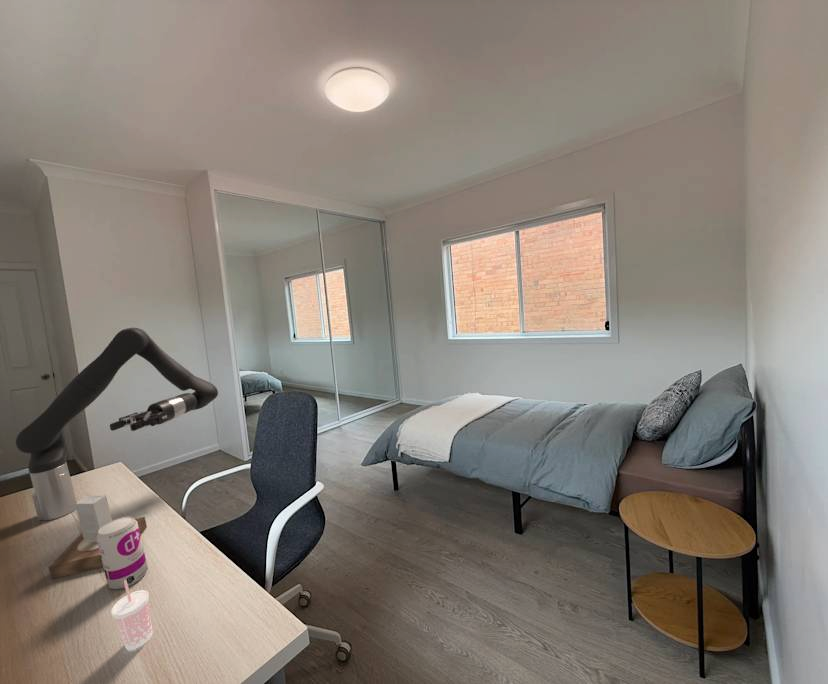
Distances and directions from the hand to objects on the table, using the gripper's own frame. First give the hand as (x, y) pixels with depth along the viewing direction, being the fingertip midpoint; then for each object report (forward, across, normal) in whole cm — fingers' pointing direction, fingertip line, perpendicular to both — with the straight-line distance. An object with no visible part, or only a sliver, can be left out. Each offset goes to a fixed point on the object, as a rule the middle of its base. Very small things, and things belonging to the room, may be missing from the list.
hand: (121, 427), depth 116 cm
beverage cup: (+34, +42, +32) cm, 63 cm away
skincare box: (+13, +1, +28) cm, 31 cm away
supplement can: (+21, +21, +32) cm, 44 cm away
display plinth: (+13, +2, +32) cm, 35 cm away
